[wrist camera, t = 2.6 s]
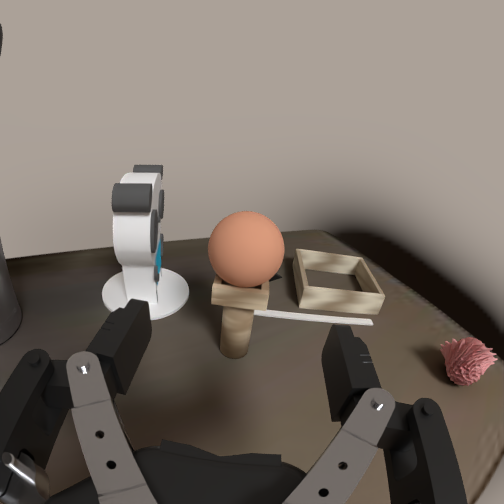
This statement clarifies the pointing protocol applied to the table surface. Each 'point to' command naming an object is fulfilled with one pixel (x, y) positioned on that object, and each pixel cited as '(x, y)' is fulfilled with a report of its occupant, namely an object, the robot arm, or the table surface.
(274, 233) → the ball
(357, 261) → the corral
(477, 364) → the flower
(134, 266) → the panda figurine
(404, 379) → the table surface
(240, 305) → the tee
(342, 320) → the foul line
